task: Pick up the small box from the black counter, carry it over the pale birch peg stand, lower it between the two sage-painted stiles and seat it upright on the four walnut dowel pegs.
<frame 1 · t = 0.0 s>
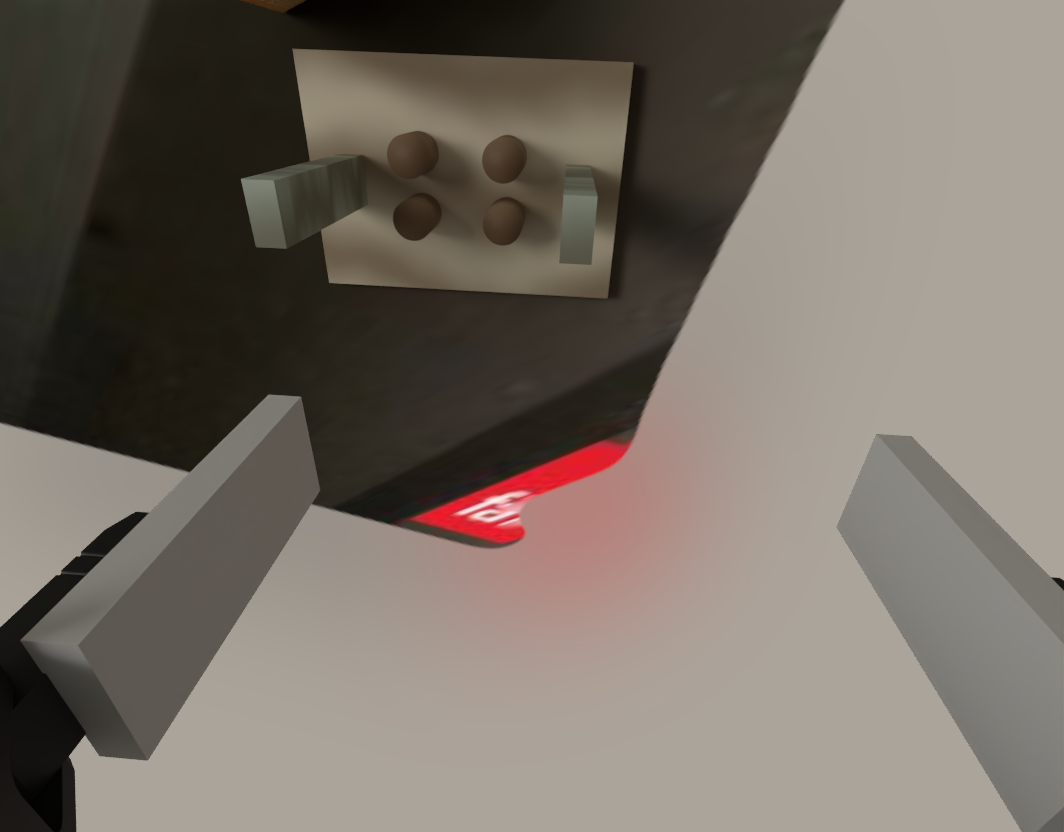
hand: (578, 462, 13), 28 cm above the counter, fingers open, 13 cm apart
peg stand: (467, 182, 36), on the counter
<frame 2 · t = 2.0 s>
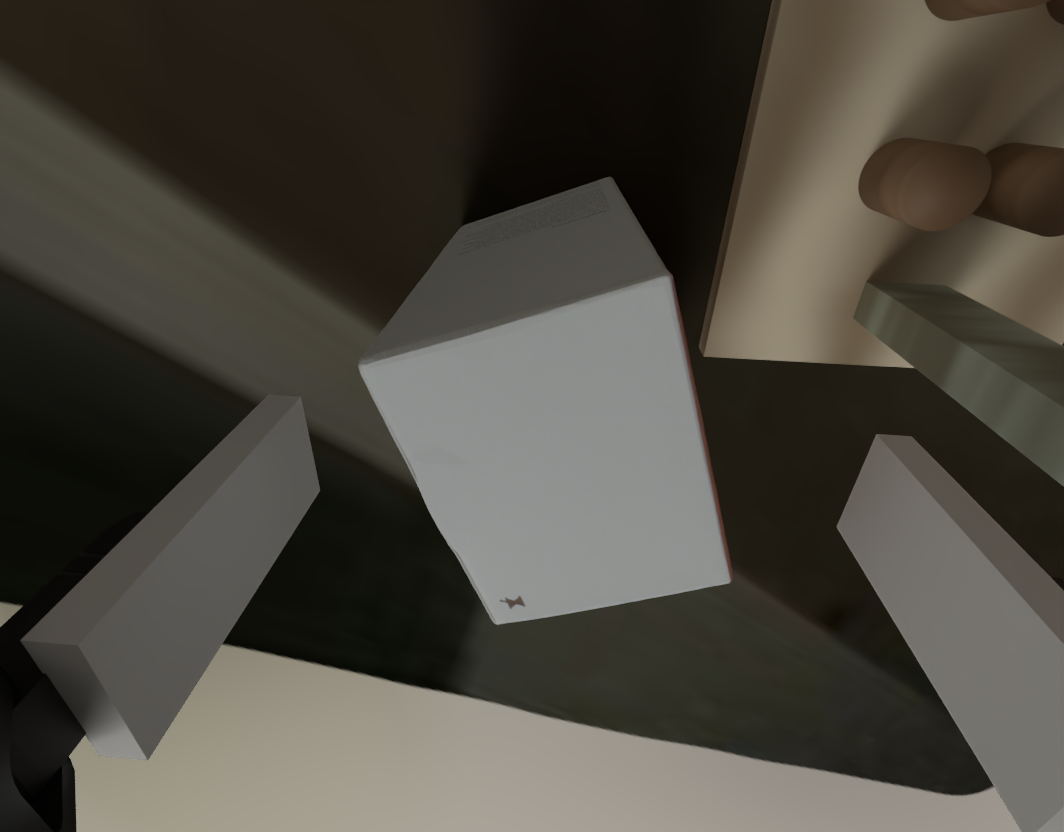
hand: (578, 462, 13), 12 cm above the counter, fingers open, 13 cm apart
small box: (563, 293, 23), on the counter
peg stand: (965, 84, 18), on the counter
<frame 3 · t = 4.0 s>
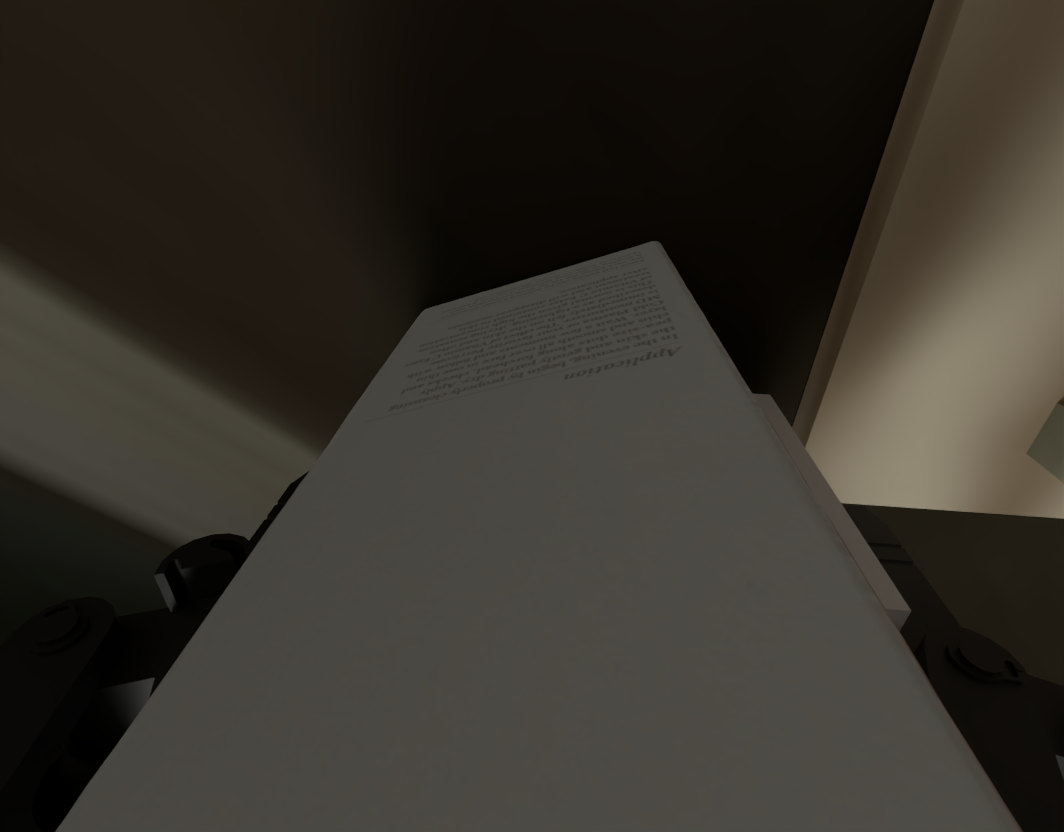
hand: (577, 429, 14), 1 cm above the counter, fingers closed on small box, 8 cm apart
small box: (578, 402, 15), on the counter, touching gripper
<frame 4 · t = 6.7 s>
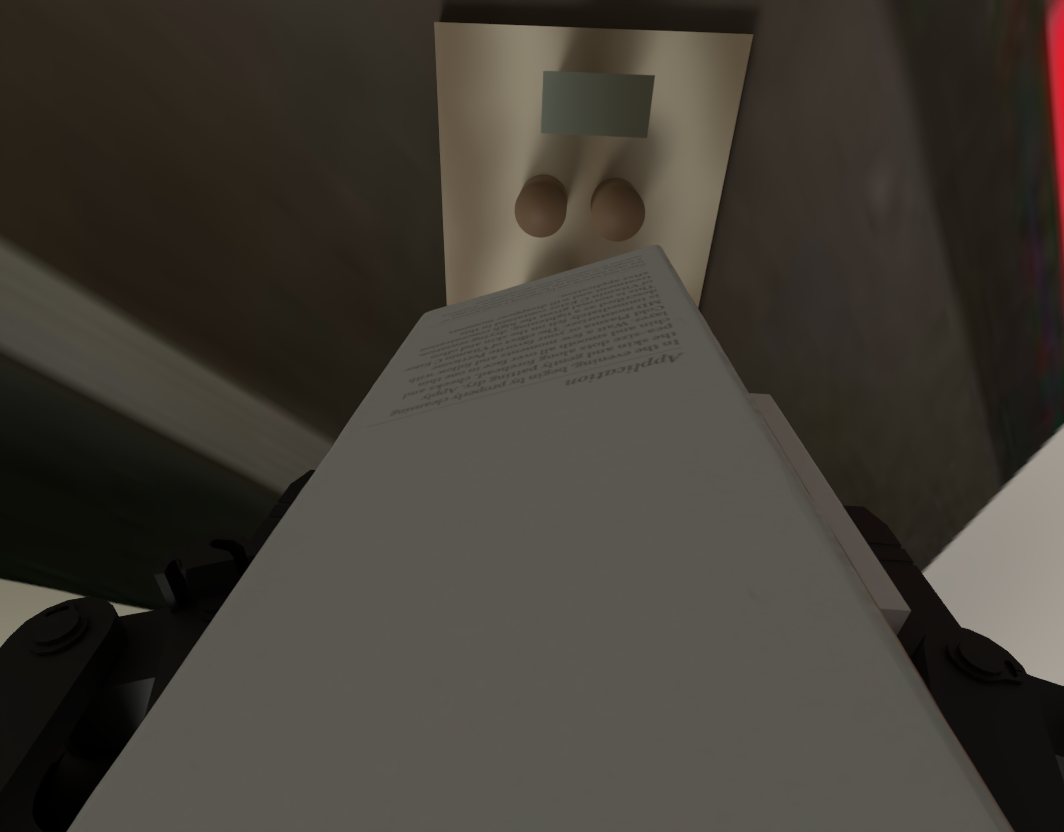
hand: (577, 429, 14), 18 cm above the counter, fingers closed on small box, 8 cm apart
small box: (579, 405, 15), point 17 cm above the counter, touching gripper
peg stand: (574, 252, 30), on the counter
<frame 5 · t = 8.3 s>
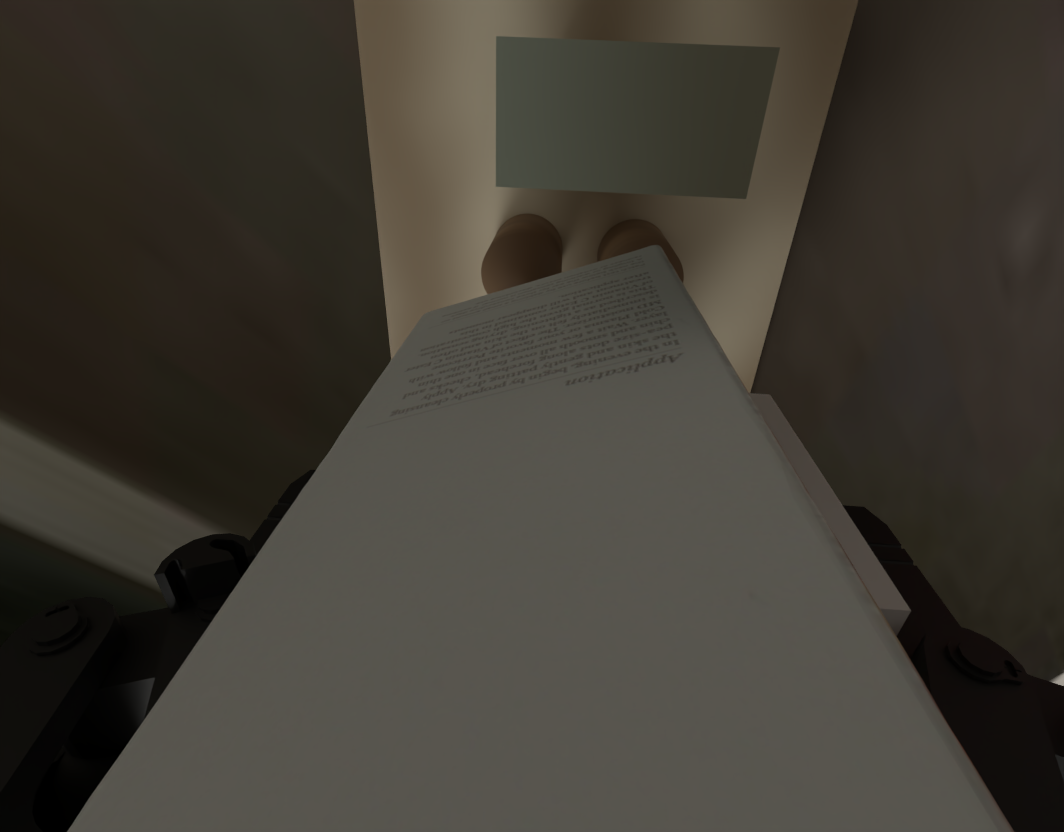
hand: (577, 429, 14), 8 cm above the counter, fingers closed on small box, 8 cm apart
small box: (579, 405, 15), point 7 cm above the counter, touching gripper
peg stand: (573, 319, 21), on the counter
when the fingers open (6 cm above the counter, at t = 9.6 s): small box stays where it is, resting on peg stand.
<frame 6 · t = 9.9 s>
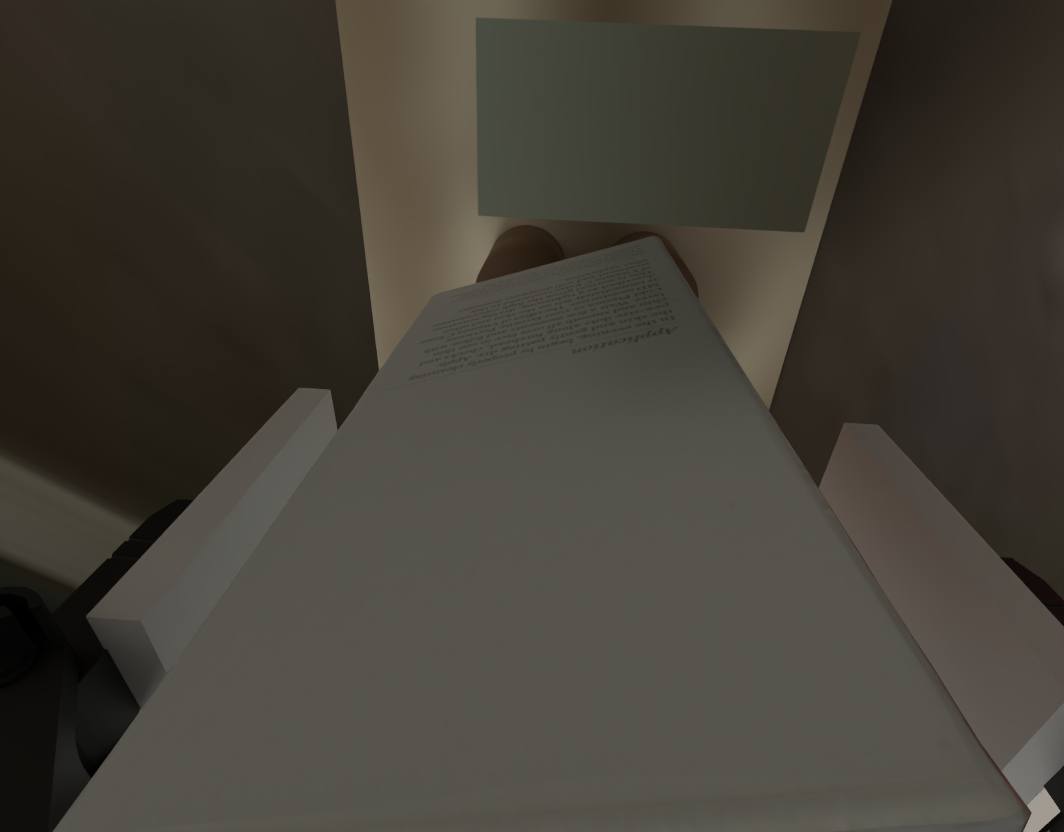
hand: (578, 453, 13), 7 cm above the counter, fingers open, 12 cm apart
small box: (577, 388, 16), point 4 cm above the counter, touching peg stand
peg stand: (576, 337, 20), on the counter
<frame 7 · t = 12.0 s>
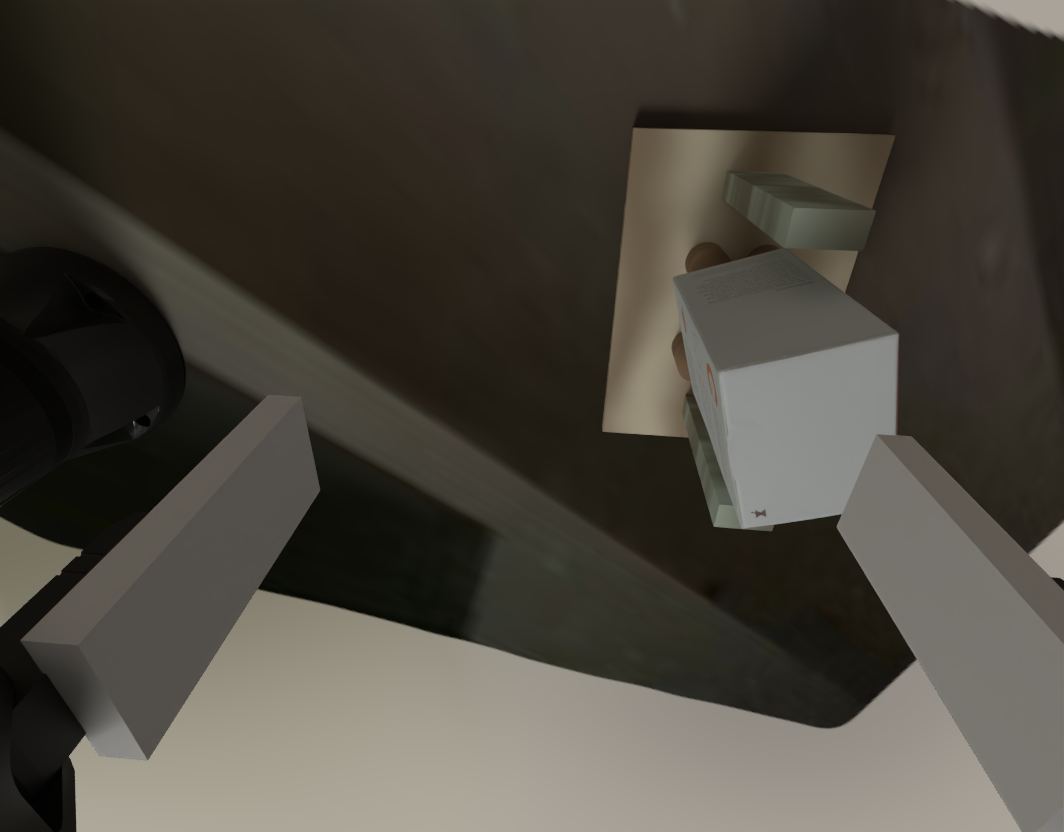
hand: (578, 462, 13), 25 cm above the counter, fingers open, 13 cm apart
small box: (735, 323, 33), point 4 cm above the counter, touching peg stand
peg stand: (722, 302, 36), on the counter
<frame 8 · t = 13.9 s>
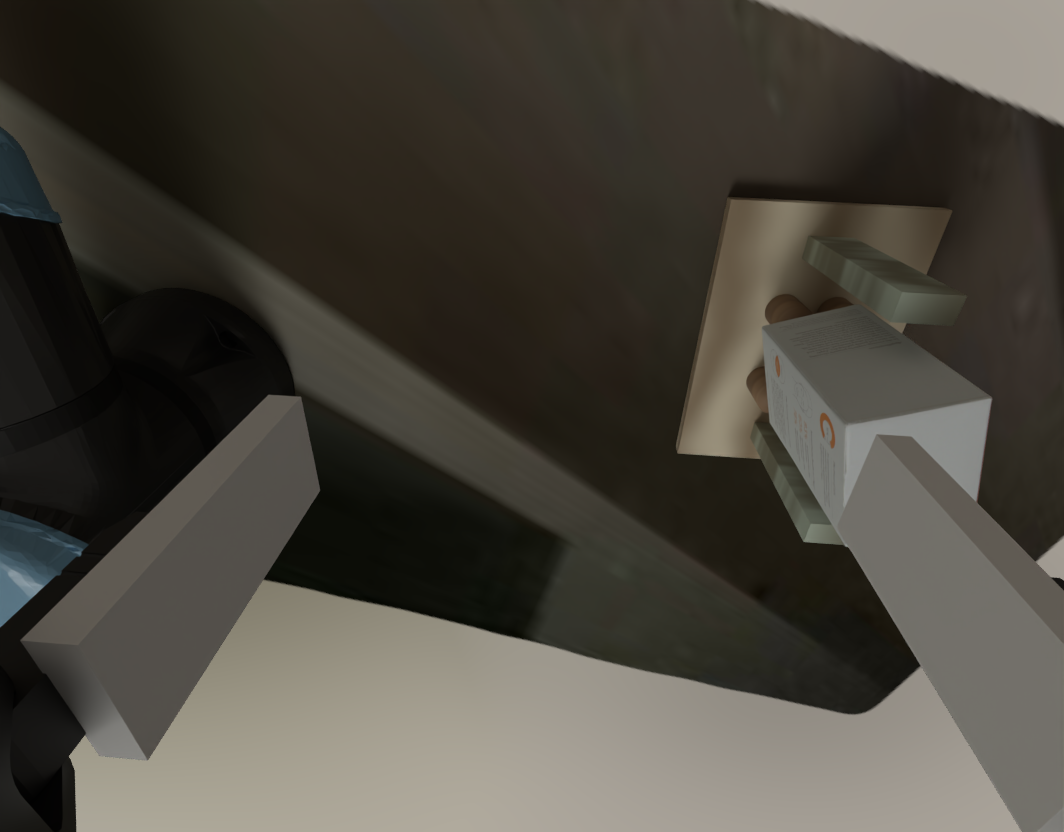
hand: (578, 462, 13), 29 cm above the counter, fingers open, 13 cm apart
small box: (811, 364, 38), point 4 cm above the counter, touching peg stand
peg stand: (792, 342, 41), on the counter
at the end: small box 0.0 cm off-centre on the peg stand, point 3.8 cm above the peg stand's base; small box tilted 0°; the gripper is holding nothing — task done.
